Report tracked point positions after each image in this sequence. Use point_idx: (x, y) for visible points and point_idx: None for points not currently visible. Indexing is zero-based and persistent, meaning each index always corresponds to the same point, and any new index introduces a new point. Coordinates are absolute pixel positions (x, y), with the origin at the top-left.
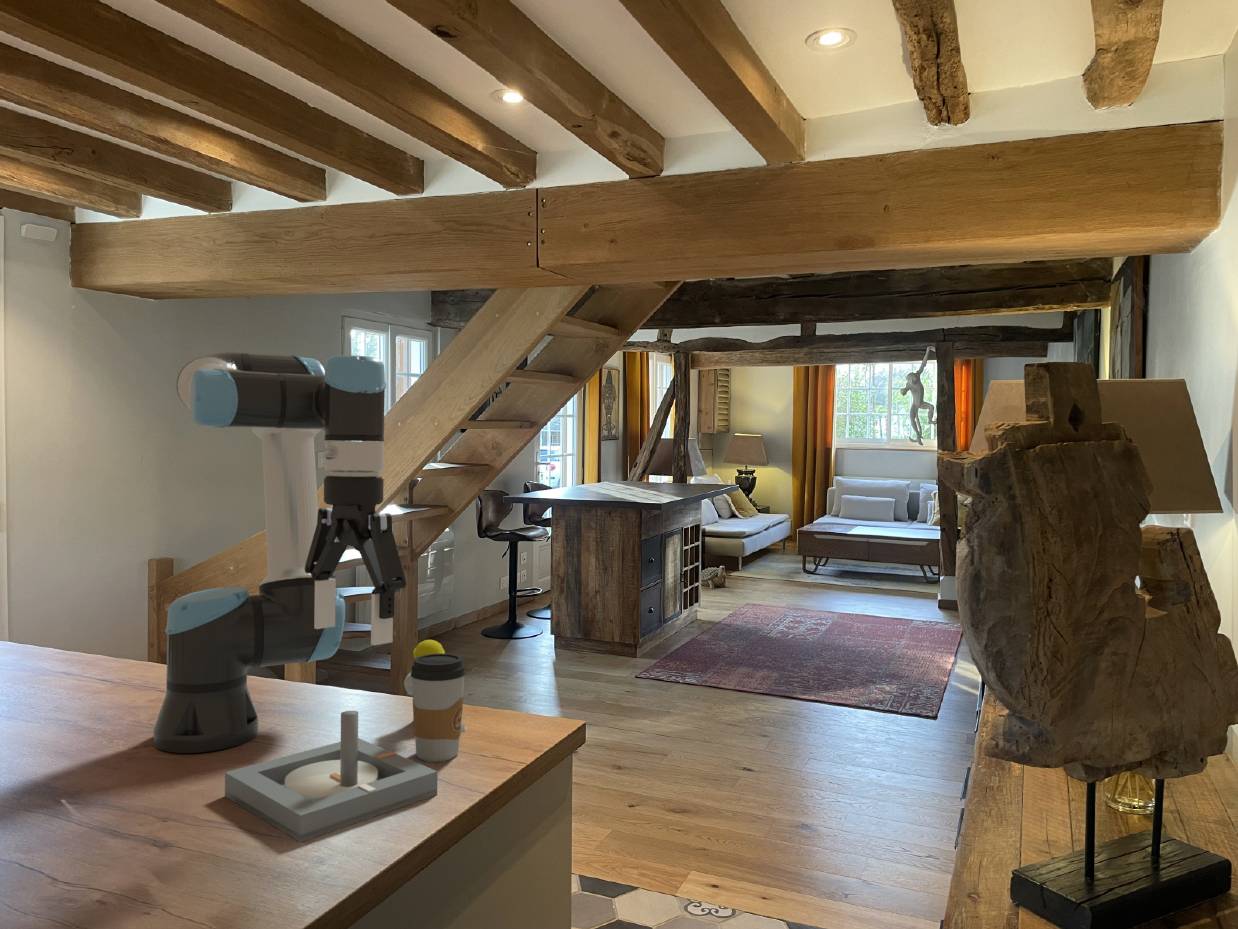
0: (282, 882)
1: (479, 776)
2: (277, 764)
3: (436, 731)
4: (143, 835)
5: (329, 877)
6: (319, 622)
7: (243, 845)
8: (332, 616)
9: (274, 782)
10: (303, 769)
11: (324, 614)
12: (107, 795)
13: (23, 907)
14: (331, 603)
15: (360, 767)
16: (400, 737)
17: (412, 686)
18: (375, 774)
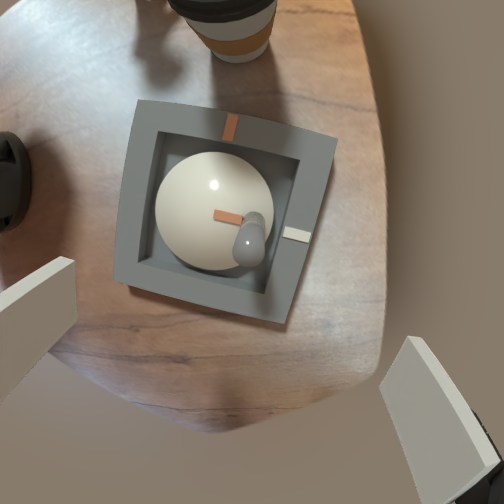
0: (323, 359)
1: (336, 68)
2: (134, 232)
3: (257, 45)
4: (152, 354)
5: (352, 338)
6: (66, 324)
7: (240, 335)
8: (53, 285)
9: (180, 275)
10: (164, 217)
11: (51, 322)
12: None
13: (200, 429)
14: (23, 314)
15: (222, 170)
16: (146, 24)
17: (189, 21)
18: (260, 179)
